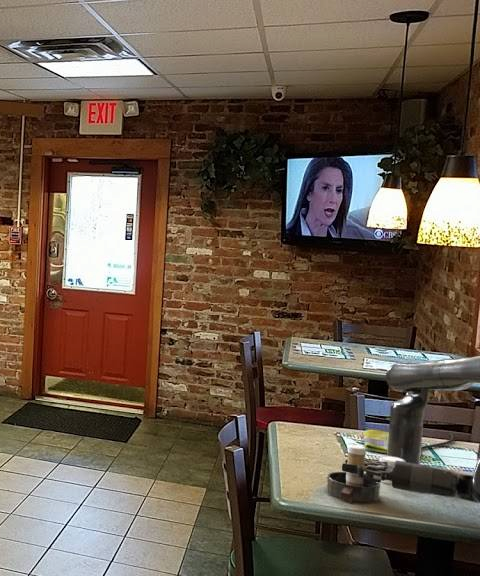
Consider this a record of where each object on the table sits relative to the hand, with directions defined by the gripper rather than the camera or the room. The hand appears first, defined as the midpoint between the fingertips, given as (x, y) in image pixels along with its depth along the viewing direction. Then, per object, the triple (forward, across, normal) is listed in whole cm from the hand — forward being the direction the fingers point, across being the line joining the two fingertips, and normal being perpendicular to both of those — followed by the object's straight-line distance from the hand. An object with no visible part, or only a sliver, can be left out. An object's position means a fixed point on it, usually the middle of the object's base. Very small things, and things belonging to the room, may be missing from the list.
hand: (344, 465), depth 217 cm
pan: (-3, 0, +8) cm, 8 cm away
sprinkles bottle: (-3, 0, +8) cm, 8 cm away
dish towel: (-5, -65, +8) cm, 66 cm away
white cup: (-10, -21, +8) cm, 25 cm away
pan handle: (-3, +9, +8) cm, 13 cm away
